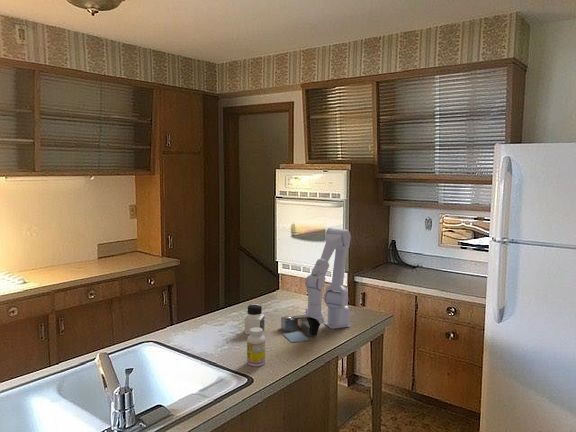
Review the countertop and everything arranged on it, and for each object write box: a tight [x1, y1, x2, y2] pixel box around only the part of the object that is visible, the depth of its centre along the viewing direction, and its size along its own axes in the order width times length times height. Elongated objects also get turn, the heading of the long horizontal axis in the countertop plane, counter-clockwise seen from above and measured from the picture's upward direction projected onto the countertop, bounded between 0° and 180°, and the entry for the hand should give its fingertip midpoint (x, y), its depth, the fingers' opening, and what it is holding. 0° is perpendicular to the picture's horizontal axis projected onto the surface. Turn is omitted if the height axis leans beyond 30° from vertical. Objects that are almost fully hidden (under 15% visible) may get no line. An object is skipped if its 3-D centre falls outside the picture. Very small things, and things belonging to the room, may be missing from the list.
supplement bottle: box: [246, 327, 266, 367], centre depth 177 cm, size 7×7×13 cm
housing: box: [280, 314, 308, 333], centre depth 215 cm, size 14×5×6 cm, turn 111°
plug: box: [298, 318, 316, 337], centre depth 213 cm, size 4×15×4 cm, turn 17°
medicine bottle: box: [243, 303, 265, 336], centre depth 209 cm, size 7×7×12 cm
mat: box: [282, 331, 310, 344], centre depth 204 cm, size 8×10×1 cm
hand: (314, 334), depth 205 cm, fingers closed
